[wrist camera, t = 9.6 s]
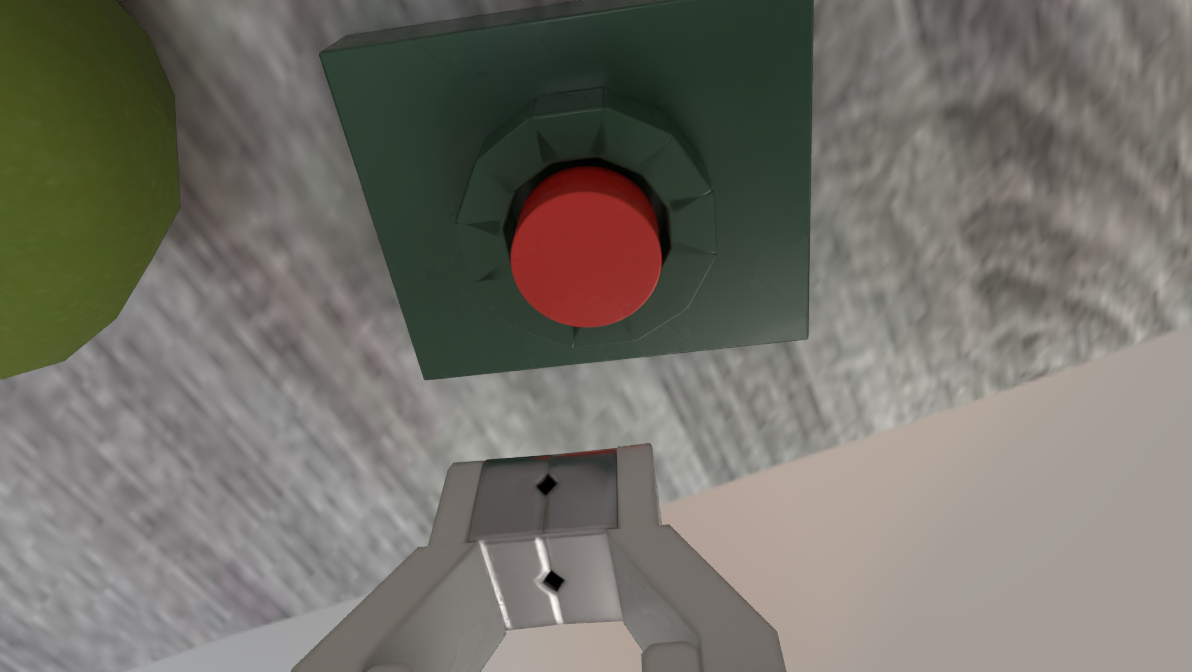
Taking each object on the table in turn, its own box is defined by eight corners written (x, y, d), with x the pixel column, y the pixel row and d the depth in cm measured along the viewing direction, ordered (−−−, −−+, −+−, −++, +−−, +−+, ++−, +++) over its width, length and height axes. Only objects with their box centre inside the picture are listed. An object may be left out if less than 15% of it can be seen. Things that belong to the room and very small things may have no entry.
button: (650, 156, 18) (654, 182, 16) (663, 286, 20) (668, 319, 18) (504, 175, 18) (495, 202, 17) (531, 301, 20) (525, 335, 19)
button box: (794, -33, 19) (835, -11, 16) (793, 303, 24) (823, 374, 21) (344, 35, 20) (290, 69, 17) (437, 343, 25) (410, 417, 22)
